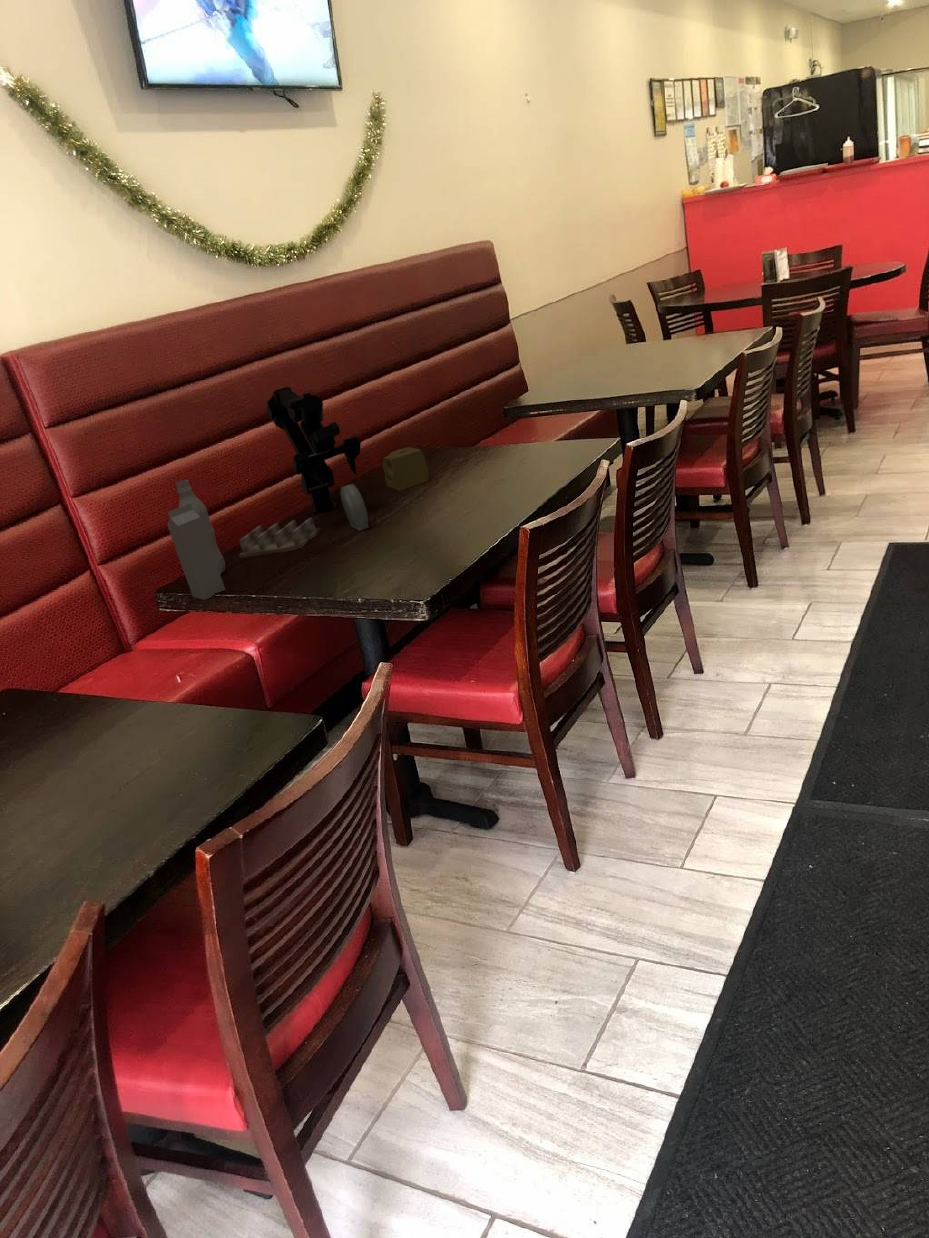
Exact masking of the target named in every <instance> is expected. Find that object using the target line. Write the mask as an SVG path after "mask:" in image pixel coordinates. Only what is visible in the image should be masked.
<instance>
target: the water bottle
mask: <svg viewBox="0 0 929 1238" xmlns="http://www.w3.org/2000/svg"><path fill="white" fill-rule="evenodd" d="M175 484H176V487H177V489H176V490H177V493H178V495H179V503H178V508H180V507H182V506H185V505H187V504H191V507H192V510H193V511H195V512H196V513H197V514H198V515H199V516H200V518H201V520H202V523H203V526H204V529H205V532H206V535H207V538H208V541H209V544H210V547H211V550H212V552H213V555H214V558H215V561H216V564H217V567H218V570H219V573H220V576H221V575H222V574H223V573H224V572H225V570H226V563H225V558H224V556H223V555H222V553H221V551H220V549H219V546H218V544H217V543H218V542H217V540H216V534H215V530H214V527H213V525H212V524H213V523H211V520H210V516H209V513H208V509H207V506H205V504H204V503H203V502H202V501H201V500H200V499H199V497H197V496H196V495H195V494H194V492H193V490H192V488H193V487H191V485H190V483H189V480H188V479H184V480H183V479H182V480H179V481H177V482H176V483H175Z"/></svg>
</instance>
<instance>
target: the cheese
mask: <svg viewBox="0 0 929 1238" xmlns="http://www.w3.org/2000/svg"><path fill="white" fill-rule="evenodd" d="M382 469H383V471H384V479H385V483H386V484H385V485H386V486H387V487H388V488H392V489H394V490H397V492H401V491H404V490H407V489H410V488H412V487H415V486H418V485H421V484H423V483H427V482H430V481H429V480H430V477H429V469H428V464H427V460H426V457H425V455H424V453H423V450H422V449H419V448H416V447H415V448H414V447H411V446H406V447H403V448H399V449H396V450H394V451H391V452H390V453H389V454H388V455H386V456H384V457H383V462H382Z"/></svg>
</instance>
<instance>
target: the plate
mask: <svg viewBox="0 0 929 1238" xmlns="http://www.w3.org/2000/svg"><path fill="white" fill-rule="evenodd" d="M340 498H341V504H342V506H343V510H344V512H345V515H346V517H347V519H348V522H349V523H350V527H352V528H354V529H356V530H357V531H359V532H360V531H362V530H366V529H368V528H369V524H368V523H369V519H368V512H367V508H366V505H365V502H364V499H363V496H362V494H361V492H360V490H359V489H358V488H357V486H356V484H353V483H350V484H348V485H347V484H346V485H344V486H341V488H340Z"/></svg>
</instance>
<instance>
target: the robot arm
mask: <svg viewBox="0 0 929 1238" xmlns="http://www.w3.org/2000/svg"><path fill="white" fill-rule="evenodd" d="M323 408H324V403H323V399H322V398H321V397H319V396H317V395H312V394H311V392H307V393H304V394H302V396H300V395H299V394H297V393H295V392H294V391H293V390H292V388H291V387H290V386H285V387H281V388H278V389H275V390H274V391H272V396H271V397H270V399H269V400H268V401H267V403H266V412H267V415H268V418H269V420H271V421H272V422H273V424H274V425H275V427H276V428H279V429H281V430H283V431H284V434H286V437H287V438H288V440H289V443H290V445H291V447H293V450H294V452H295V454H294V455H293V457H292V463H293V470H294V472H295V474H296V475H300V478H301V482H300V483H301V488H302V490H303V493H304V494H307V495H310V497H311V499H312V503H313V507H314V509H313V511H312V514H318V513H323V512H327V511H332V510H335V508H336V506H337V501H335V502H334V501H333V497H332V493H331V490H330V487H335V484H336V483H335V479H334V471H333V469H332V468H331V467H330V466H329V465H328V463H327V462H325V461H326V460H328V459H331V458H334V457H337V456H340V455H344V456H345V458H346V462H347V463H348V466H349V468H350V469H351V471H352V473H353V474H354V475H357V468H356V461H355V460H356V459H357V458H358V457H359V455H360V454H361V443H362V442H361V440H360V439H359V437H358V436H355V435H354V436H350V437H347V438H344V439H343V441H342V443H343V445H341V446H337V447H335V445H336V439H335V438H336V437H337V436H339V435H340V434H341V429H340V427H339V425H338V423H337V422H336V421H335V422H330V423H329V425H326V426H325V427H324V425H323V423H322V422H323V420H324V419H323V418H324V416H323V414H324V409H323ZM299 422H300V424H299Z"/></svg>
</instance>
